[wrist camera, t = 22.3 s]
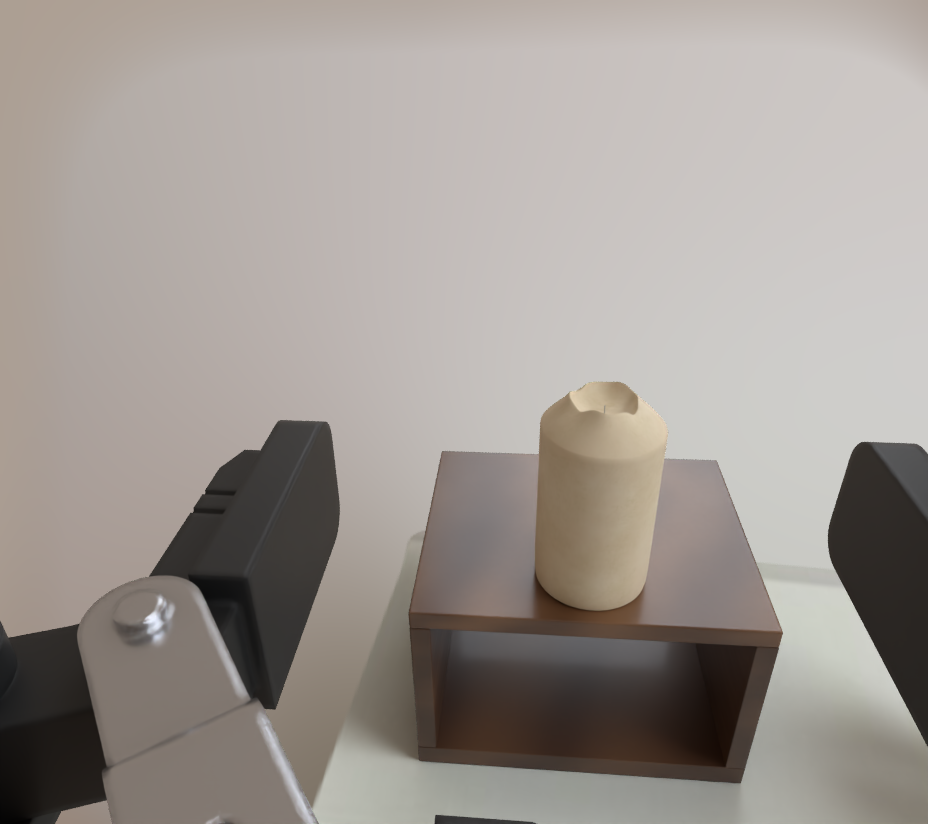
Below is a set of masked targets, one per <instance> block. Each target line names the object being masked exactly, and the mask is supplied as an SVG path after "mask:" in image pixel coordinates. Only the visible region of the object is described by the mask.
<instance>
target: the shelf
mask: <svg viewBox="0 0 928 824" xmlns="http://www.w3.org/2000/svg"><path fill="white" fill-rule="evenodd" d="M538 466H539V454H512V453H483V452H482V453H481V452H454V451H442V454H441V459H440V464H439V469H438V473H437V478H436V483H435V488H434V493H433V497H432V502H431V508H430V512H429V517H428V522H427V526H426V531H425V536H424V541H423V546H422V551H421V556H420V560H419V565H418V570H417V575H416V580H415V585H414V589H413V594H412V599H411V604H410V609H409V625H410V639H411V653H412V667H413V680H414V694H415V708H416V721H417V735H418V751H419V760H420V761H431V762H445V763H460V764H474V765H489V766H503V767H517V768H532V769H546V770H560V771H575V772H589V773H603V774H618V775H632V776H646V777H661V778H675V779H690V780H704V781H718V782H733V783H741V781H742V777H743V774H744V770H745V766H746V763H747V759H748V756H749V752H750V749H751V745H752V742H753V738H754V735H755V731H756V728H757V724H758V720H759V717H760V713H761V710H762V706H763V703H764V699H765V696H766V692H767V689H768V685H769V682H770V678H771V675H772V671H773V668H774V664H775V660H776V657H777V653H778V650H779V648H778V647H779V645H780V642H781V638H782V634H783V632H782V629H781V627H780V624H779V621H778V619H777V616H776V614H775V611H774V608H773V606H772V603H771V601H770V598H769V595H768V593H767V590H766V588H765V585H764V582H763V580H762V577H761V575H760V572H759V569H758V567H757V564H756V562H755V559H754V556H753V554H752V551H751V549H750V546H749V544H748V541H747V538H746V536H745V533H744V530H743V528H742V525H741V523H740V520H739V517H738V515H737V512H736V510H735V507H734V505H733V502H732V499H731V497H730V494H729V492H728V489H727V486H726V484H725V481H724V479H723V476H722V474H721V471H720V469H719V466H718V463H717V461H716V460H687V459H686V460H685V459H664V464H663V471H662V478H661V484H660V491H659V498H658V505H657V512H656V518H655V525H654V532H653V539H652V546H651V552H650V559H649V566H648V571H647V577H646V581H645V584H644V586H643V589H642V591H641V592H640V594H639V595H638V596H637V597H636V598H635V599H634V600H633V601H631V602H630V603H628V604H626V605H624V606H621V607H619V608H615V609H610V610H601V611H594V610H584V609H579V608H575V607H572V606H569V605H567V604H564V603H562V602H560V601H558V600H557V599H555V598H554V597H552V596H551V595H550V594H549V593H547V592H546V591H545V590H544V588H543V587H542V586H541V584H540V583H539V581H538V578H537V576H536V571H535V534H536V511H537V489H538Z"/></svg>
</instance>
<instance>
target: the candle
mask: <svg viewBox="0 0 928 824" xmlns="http://www.w3.org/2000/svg"><path fill="white" fill-rule="evenodd" d="M667 437H668V429H667V426H666V423H665V422H664V420H663V419H662V418H661V417H660V416H659V414H658V413H657V412H656V411H655V410H654V409H653V408H652V407H651V406H649V405H648V404H647V403H646V402H645V401H644V400H642V399H641V398H640V397H639V396H638V395H637V394H636V393H634V392H633V391H632V390H631V389H630V388H629V387H628V386H627V385H625V384H623V383H621V382H590V383H588V384H586V385H584V386H583V387H582V388H580V389H579V390H577V391H571V392H569V393H568V394H567V395H566V396H565V397H563V398H562V399H560V400H559V401H558V402H556V403H555V404H553V405H552V406H551V407H550V408H548V410H546V411H545V413H544V414H543V416H542V418H541V422H540V443H539V444H540V445H539V466H538V489H537V511H536V534H535V571H536V576H537V578H538V581H539V583H540V584H541V586H542V587H543V588H544V590H545V591H546V592H547V593H549V594H550V595H551V596H552V597H554V598H555V599H557V600H558V601H560V602H562V603H564V604H567V605H569V606H572V607H575V608H579V609H584V610H594V611H601V610H610V609H615V608H619V607H621V606H624V605H626V604H628V603H630V602H631V601H633V600H634V599H635V598H636V597H637V596H638V595H639V594H640V592H641V591H642V589H643V586H644V584H645V581H646V577H647V571H648V566H649V559H650V552H651V546H652V539H653V532H654V525H655V518H656V512H657V505H658V498H659V491H660V484H661V478H662V471H663V464H664V457H665V450H666V444H667Z"/></svg>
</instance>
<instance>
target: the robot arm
mask: <svg viewBox="0 0 928 824" xmlns="http://www.w3.org/2000/svg"><path fill="white" fill-rule="evenodd" d="M205 492H206V493H205V495H204V494H203V495H202V496H201V498H200V499H199V501H198V502H197V504H196V505H195V507H194V512H193V513H190V515H189V516H188V517H187V519H186V521H185V522H184V524H183V525H182V527H181V528H180V530H179V531H178V533H177V535H176V536H175V537H174V539H173V541H172V542H171V544H170V545H169V547H168V548H167V550H166V551H165V553H164V554H163V556H162V557H161V559H160V561H159V562H158V564H157V565H156V567H155V568H154V570H153V571H152V573H151V574H150V576H149V577H145V578H141V579H138V580H134V581H131V582H128V583H126V584H124V585H121V586H119V587H117V588H115V589H114V590H112V591H110V592H108V593H107V594H105V595H104V596H103V597H101V598H100V599H99V600H98V601H96V602H95V603H94V604H93V605H92V606H91V607H90V609H89V610H88V611H87V612H86V613H85V615H84V617H83V618H82V620H81V622H80V624H77V625H73V626H68V627H63V628H58V629H52V630H48V631H42V632H37V633H31V634H26V635H21V636H16V637H10V638H8V637H7V634H6V632H5V630H4V628H3V626H2V624H1V622H0V824H55V822H56V821H57V819H58V817H59V815H60V813H61V811H63V810H68V809H72V808H76V807H80V806H84V805H88V804H92V803H97V802H101V801H105V800H107V802H108V806H109V811H110V816H111V820H112V824H319V823H318V821H317V819H316V817H315V815H314V813H313V811H312V809H311V807H310V804H309V802H308V800H307V798H306V796H305V794H304V792H303V789H302V787H301V785H300V783H299V781H298V779H297V777H296V775H295V773H294V771H293V768H292V766H291V764H290V762H289V760H288V758H287V756H286V754H285V751H284V749H283V747H282V745H281V743H280V741H279V739H278V737H277V735H276V733H275V730H274V728H273V726H272V724H271V722H270V720H269V718H268V716H267V714H266V711H265V709H276V706H277V704H278V701H279V698H280V695H281V692H282V690H283V687H284V684H285V681H286V678H287V675H288V673H289V669H290V667H291V664H292V661H293V659H294V655H295V653H296V650H297V647H298V645H299V641H300V639H301V636H302V633H303V630H304V628H305V625H306V622H307V619H308V616H309V614H310V610H311V608H312V605H313V602H314V599H315V596H316V594H317V591H318V588H319V585H320V583H321V580H322V577H323V574H324V571H325V568H326V566H327V563H328V560H329V557H330V554H331V552H332V549H333V546H334V543H335V540H336V537H337V532H338V526H339V515H340V507H339V506H340V505H339V494H338V485H337V477H336V468H335V460H334V451H333V442H332V434H331V430H330V426H329V424H328V423H327V422H319V421H317V422H316V421H290V420H289V421H288V420H280V421H278V422H277V424H276V425H275V427H274V428H273V430H272V432H271V434H270V435H269V437H268V439H267V440H266V442H265V444H264V445H263V447H262V449H261V451H259V450H244V451H243V452H241V453H240V454H239V455H237V456H236V457H234V458H233V459H232V460H230V461H229V462H227V463H226V464H225V465H223V466H222V467H221V468H219V470H218V471H217V473H216V474H215V476H214V478H213V479H212V481H211V482H210V484H209V485H208V487H207V488H206V490H205ZM828 548H829V554H830V558H831V561H832V564H833V566H834V568H835V570H836V572H837V574H838V576H839V578H840V580H841V582H842V584H843V586H844V587H845V589H846V591H847V593H848V595H849V597H850V599H851V601H852V603H853V605H854V607H855V609H856V610H857V612H858V614H859V616H860V618H861V620H862V622H863V624H864V626H865V628H866V630H867V632H868V633H869V635H870V637H871V639H872V641H873V643H874V645H875V647H876V649H877V651H878V653H879V654H880V656H881V658H882V660H883V662H884V664H885V666H886V668H887V670H888V672H889V674H890V676H891V677H892V679H893V681H894V683H895V685H896V687H897V689H898V691H899V693H900V695H901V697H902V698H903V700H904V702H905V704H906V706H907V708H908V710H909V712H910V714H911V716H912V718H913V720H914V721H915V723H916V725H917V727H918V729H919V731H920V733H921V735H922V737H923V739H924V741H925V743H926V744H927V746H928V454H927V453H926V452H925V450H924V449H923V448H922V447H921V446H919V445H917V444H907V443H879V442H878V443H877V442H861V443H859V444H858V445H857V446H856V447H855V448H854V450H853V452H852V454H851V457H850V459H849V463H848V466H847V469H846V473H845V476H844V479H843V482H842V485H841V489H840V492H839V495H838V498H837V501H836V505H835V508H834V511H833V514H832V518H831V521H830V525H829V530H828ZM435 824H536V823H533V822H524V821H511V820H497V819H484V818H470V817H457V816H444V815H436V816H435Z"/></svg>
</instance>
